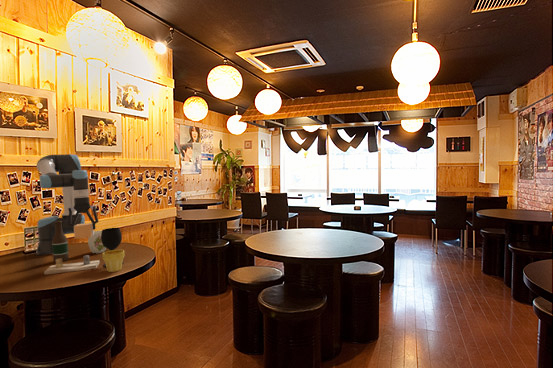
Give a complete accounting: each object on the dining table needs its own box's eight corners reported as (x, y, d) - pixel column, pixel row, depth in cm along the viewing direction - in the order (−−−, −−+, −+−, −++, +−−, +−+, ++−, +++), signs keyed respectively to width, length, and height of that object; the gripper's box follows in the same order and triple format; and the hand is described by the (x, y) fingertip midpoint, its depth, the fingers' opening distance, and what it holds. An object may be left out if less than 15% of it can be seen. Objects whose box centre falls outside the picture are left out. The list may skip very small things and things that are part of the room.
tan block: (78, 235, 198) (77, 224, 197) (93, 234, 200) (92, 222, 200) (75, 238, 190) (74, 226, 190) (91, 237, 193) (90, 224, 192)
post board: (51, 268, 186) (50, 257, 185) (99, 262, 194) (99, 252, 193) (44, 274, 174) (43, 263, 174) (96, 268, 182) (95, 257, 182)
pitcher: (117, 250, 223) (116, 229, 222) (88, 256, 209) (86, 234, 209) (111, 247, 230) (109, 227, 229) (82, 253, 217) (80, 232, 216)
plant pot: (119, 265, 185) (118, 248, 185) (129, 269, 179) (127, 250, 178) (100, 270, 178) (98, 252, 177) (109, 274, 171) (107, 255, 170)
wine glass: (127, 262, 192) (125, 227, 191) (113, 267, 182) (110, 231, 181) (113, 261, 195) (111, 227, 194) (98, 266, 186) (96, 230, 184)
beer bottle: (61, 262, 197) (58, 222, 195) (50, 262, 198) (46, 222, 197) (71, 259, 204) (68, 219, 203) (61, 258, 206) (58, 219, 204)
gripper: (58, 198, 187) (61, 239, 188) (100, 196, 194) (103, 235, 195) (62, 197, 194) (65, 236, 195) (102, 195, 201) (105, 233, 202)
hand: (84, 236), depth 195 cm, fingers closed on tan block, 8 cm apart
